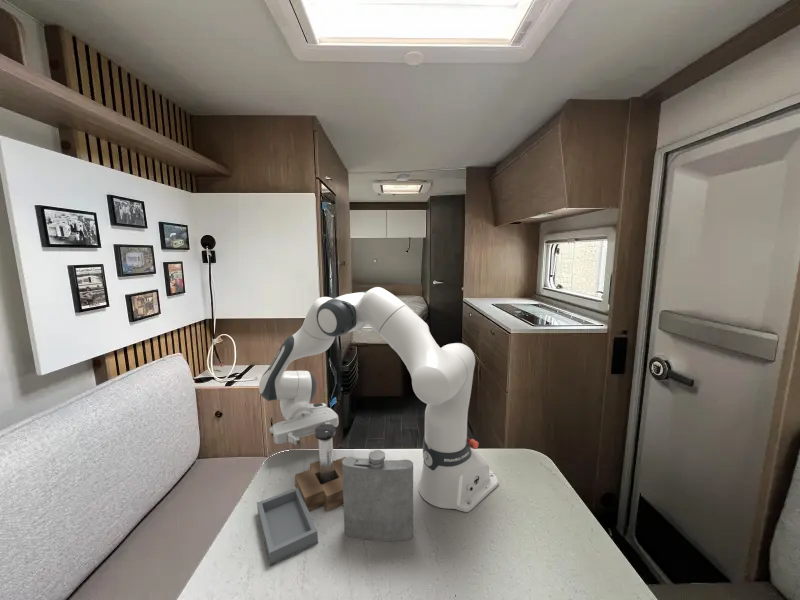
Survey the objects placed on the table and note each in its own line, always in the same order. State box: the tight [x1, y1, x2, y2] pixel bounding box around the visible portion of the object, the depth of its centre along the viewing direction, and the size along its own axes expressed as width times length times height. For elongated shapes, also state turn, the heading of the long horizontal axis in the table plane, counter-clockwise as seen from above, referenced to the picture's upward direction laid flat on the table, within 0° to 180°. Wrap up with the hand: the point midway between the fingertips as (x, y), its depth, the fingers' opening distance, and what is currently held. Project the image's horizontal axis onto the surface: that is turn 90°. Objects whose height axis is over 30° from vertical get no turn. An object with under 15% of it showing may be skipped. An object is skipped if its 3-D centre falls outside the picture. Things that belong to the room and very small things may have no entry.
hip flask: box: [342, 449, 414, 542], centre depth 73 cm, size 16×4×20 cm, turn 85°
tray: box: [256, 487, 319, 567], centre depth 76 cm, size 10×16×3 cm, turn 32°
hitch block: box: [294, 456, 347, 512], centre depth 88 cm, size 15×15×4 cm
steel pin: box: [314, 424, 336, 485], centre depth 87 cm, size 5×5×18 cm
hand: (313, 437), depth 97 cm, fingers open, 8 cm apart
